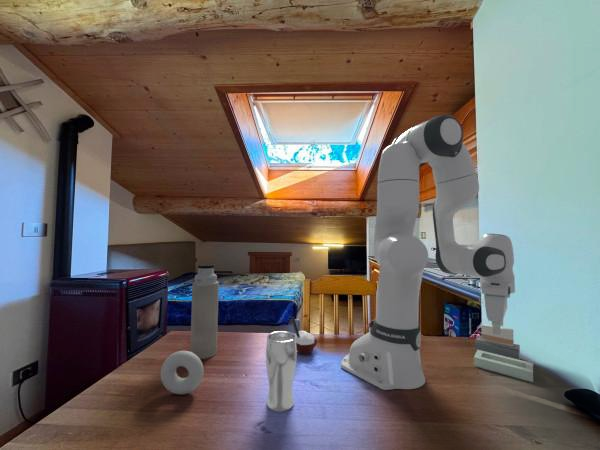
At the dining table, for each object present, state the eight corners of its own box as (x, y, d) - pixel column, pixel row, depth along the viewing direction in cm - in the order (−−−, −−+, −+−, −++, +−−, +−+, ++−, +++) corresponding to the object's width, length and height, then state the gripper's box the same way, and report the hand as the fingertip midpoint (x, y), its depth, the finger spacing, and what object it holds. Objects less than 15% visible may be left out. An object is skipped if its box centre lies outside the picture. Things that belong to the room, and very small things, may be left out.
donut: (156, 397, 63) (158, 353, 63) (164, 389, 66) (165, 347, 67) (200, 398, 63) (201, 354, 63) (205, 389, 66) (206, 348, 67)
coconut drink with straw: (315, 349, 92) (317, 312, 93) (319, 356, 85) (321, 317, 86) (287, 349, 90) (289, 312, 91) (289, 356, 84) (291, 317, 85)
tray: (474, 369, 79) (473, 357, 79) (477, 361, 84) (477, 349, 84) (533, 386, 70) (533, 372, 70) (533, 375, 75) (532, 363, 75)
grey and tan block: (475, 357, 86) (475, 340, 86) (478, 351, 91) (478, 334, 91) (519, 369, 79) (518, 350, 79) (519, 361, 84) (519, 343, 84)
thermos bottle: (205, 346, 92) (208, 262, 93) (222, 351, 88) (224, 264, 88) (184, 354, 85) (187, 264, 86) (201, 361, 81) (204, 266, 82)
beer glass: (291, 415, 57) (293, 343, 58) (260, 410, 59) (261, 340, 59) (298, 396, 64) (299, 332, 65) (270, 392, 66) (271, 329, 66)
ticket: (481, 353, 87) (481, 324, 87) (482, 351, 88) (482, 323, 89) (513, 361, 82) (513, 331, 82) (513, 359, 83) (513, 329, 83)
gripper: (489, 279, 96) (490, 319, 95) (480, 288, 80) (481, 336, 80) (511, 281, 92) (513, 323, 91) (507, 291, 76) (509, 341, 76)
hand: (498, 329), depth 86 cm, fingers open, 8 cm apart
